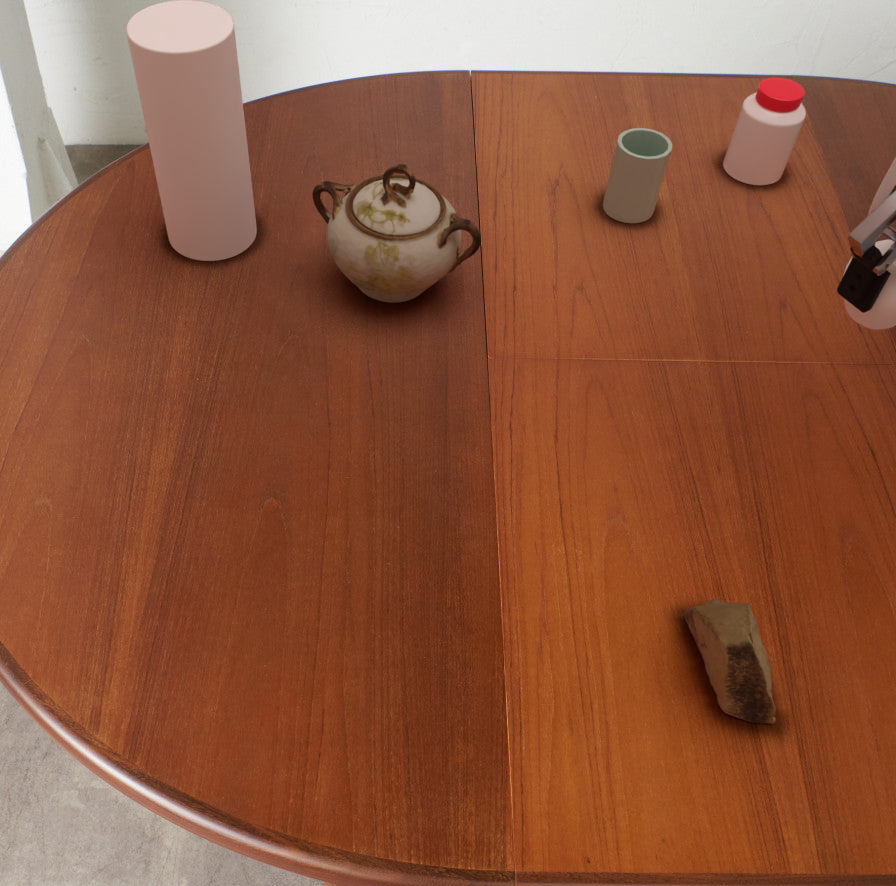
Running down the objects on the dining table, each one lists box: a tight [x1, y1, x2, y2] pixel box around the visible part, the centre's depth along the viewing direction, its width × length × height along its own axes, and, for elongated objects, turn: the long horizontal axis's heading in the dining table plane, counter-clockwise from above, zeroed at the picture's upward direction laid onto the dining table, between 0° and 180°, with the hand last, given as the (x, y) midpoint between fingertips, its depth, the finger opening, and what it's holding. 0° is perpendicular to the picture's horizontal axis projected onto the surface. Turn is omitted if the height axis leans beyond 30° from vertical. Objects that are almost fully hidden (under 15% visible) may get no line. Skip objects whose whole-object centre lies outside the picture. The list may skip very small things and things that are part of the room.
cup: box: [602, 127, 673, 224], centre depth 115 cm, size 6×6×9 cm
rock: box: [683, 598, 777, 725], centre depth 78 cm, size 11×9×10 cm
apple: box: [842, 238, 896, 331], centre depth 77 cm, size 7×7×8 cm
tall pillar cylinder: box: [125, 0, 258, 262], centre depth 104 cm, size 11×11×25 cm
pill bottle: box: [722, 76, 807, 186], centre depth 120 cm, size 8×8×11 cm
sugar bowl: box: [311, 163, 482, 304], centre depth 103 cm, size 20×15×15 cm
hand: (887, 284), depth 78 cm, fingers closed on apple, 7 cm apart
